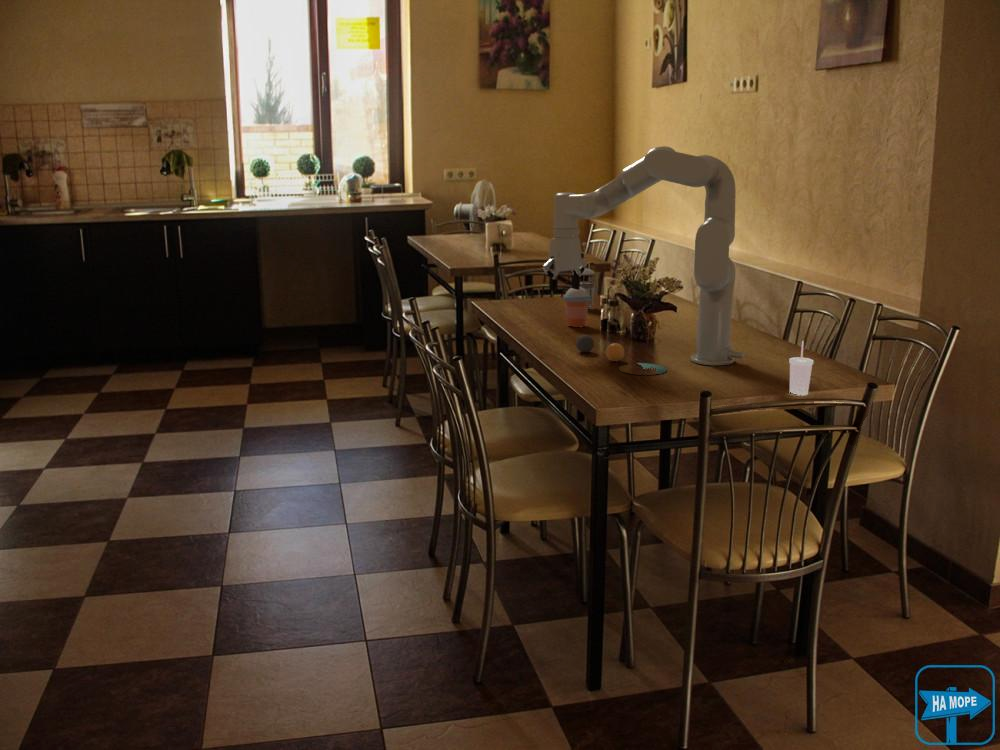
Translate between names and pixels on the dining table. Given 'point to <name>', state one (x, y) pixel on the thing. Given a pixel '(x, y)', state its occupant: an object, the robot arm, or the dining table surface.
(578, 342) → the dark grey ball
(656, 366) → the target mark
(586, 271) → the french press
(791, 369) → the beverage cup
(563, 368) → the dining table surface
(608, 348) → the object ball
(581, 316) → the cup with straw
